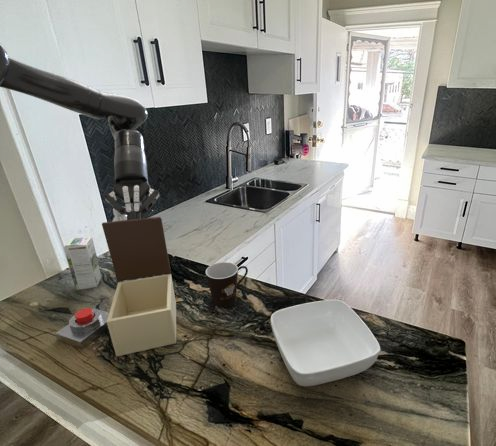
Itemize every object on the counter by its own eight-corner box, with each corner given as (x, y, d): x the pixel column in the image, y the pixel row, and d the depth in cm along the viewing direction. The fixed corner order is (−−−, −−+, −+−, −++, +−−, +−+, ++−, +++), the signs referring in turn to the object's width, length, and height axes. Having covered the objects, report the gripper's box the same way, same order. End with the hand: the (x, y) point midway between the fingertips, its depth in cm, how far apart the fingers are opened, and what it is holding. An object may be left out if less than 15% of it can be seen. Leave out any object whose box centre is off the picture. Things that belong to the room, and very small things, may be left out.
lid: (161, 217, 76) (161, 216, 76) (101, 224, 72) (102, 222, 72) (170, 273, 83) (170, 271, 84) (117, 281, 79) (117, 279, 80)
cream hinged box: (176, 343, 74) (170, 309, 70) (116, 356, 70) (106, 321, 66) (176, 303, 87) (171, 273, 84) (125, 313, 83) (118, 282, 80)
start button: (84, 325, 74) (82, 319, 73) (73, 321, 75) (71, 316, 74) (97, 316, 77) (96, 310, 76) (86, 312, 78) (85, 306, 77)
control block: (82, 349, 72) (77, 335, 70) (57, 340, 74) (52, 327, 73) (118, 321, 81) (115, 308, 79) (95, 314, 83) (91, 302, 81)
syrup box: (81, 280, 97) (69, 238, 92) (103, 277, 99) (92, 235, 93) (75, 290, 92) (62, 246, 87) (98, 287, 94) (86, 244, 88)
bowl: (340, 317, 83) (342, 293, 80) (385, 379, 66) (390, 351, 63) (265, 335, 77) (264, 310, 74) (293, 409, 59) (293, 380, 56)
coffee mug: (209, 312, 84) (205, 280, 80) (208, 293, 92) (205, 264, 88) (252, 305, 87) (250, 274, 83) (248, 288, 95) (246, 259, 91)
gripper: (97, 160, 76) (98, 225, 70) (156, 157, 81) (162, 218, 75) (106, 176, 83) (108, 237, 77) (160, 173, 87) (165, 230, 81)
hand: (134, 227), depth 76 cm, fingers closed
